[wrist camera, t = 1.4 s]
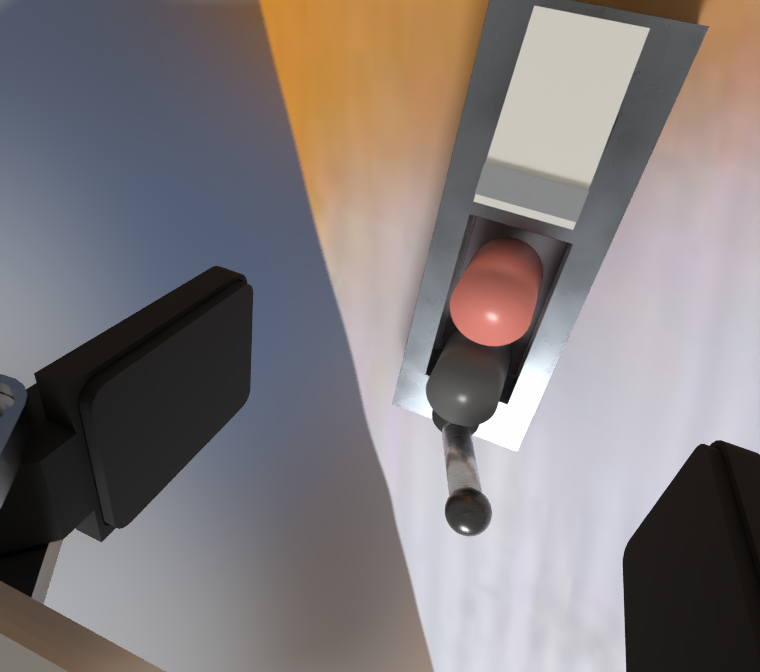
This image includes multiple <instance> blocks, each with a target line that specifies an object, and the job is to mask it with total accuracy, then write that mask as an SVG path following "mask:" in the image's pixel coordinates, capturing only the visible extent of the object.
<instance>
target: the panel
mask: <svg viewBox="0 0 760 672" xmlns="http://www.w3.org/2000/svg"><path fill="white" fill-rule="evenodd" d="M534 6H539V7H545V8H550V9H555V10H560V11H565V12H570V13H575V14H580V15H585V16H590V17H595V18H600V19H605V20H610V21H615V22H621V23H626V24H631V25H636V26H641V27H646V28H650V30H649V33H648V35H647V38H646V40H645V43H644V46H643V48H642V51H641V54H640V56H639V59H638V61H637V64H636V67H635V69H634V72H633V75H632V77H631V80H630V82H629V85H628V88H627V90H626V93H625V96H624V98H623V101H622V103H621V106H620V109H619V111H618V114H617V117H616V119H615V122H614V124H613V127H612V130H611V132H610V135H609V137H608V140H607V143H606V145H605V148H604V151H603V153H602V156H601V158H600V161H599V164H598V166H597V169H596V172H595V174H594V177H593V179H592V182H591V185H590V187H589V190H588V191H589V192H588V195H587V197H586V200H585V203H584V205H583V208H582V210H581V213H580V216H579V218H578V221H577V222H576V224H575V227H574V229H573V230H572V229H568V228H565V227H561V226H558V225H554V224H551V223H547V222H544V221H540V220H537V219H533V218H529V217H526V216H522V215H519V214H515V213H512V212H508V211H505V210H501V209H498V208H494V207H491V206H487V205H484V204H480V203H477V202H473V201H474V198H475V191H476V188H477V185H478V182H479V179H480V175H481V172H482V169H483V166H484V163H485V162H486V159H487V156H488V153H489V149H490V146H491V143H492V140H493V137H494V133H495V130H496V127H497V124H498V121H499V117H500V114H501V111H502V108H503V104H504V101H505V98H506V95H507V92H508V88H509V85H510V82H511V79H512V76H513V72H514V69H515V66H516V63H517V59H518V56H519V53H520V50H521V47H522V43H523V40H524V37H525V34H526V31H527V27H528V24H529V21H530V18H531V14H532V11H533V8H534ZM708 27H709V26H703V25H698V24H693V23H688V22H683V21H677V20H672V19H667V18H662V17H657V16H651V15H646V14H641V13H636V12H631V11H625V10H620V9H615V8H610V7H605V6H599V5H594V4H589V3H584V2H578V1H573V0H490V1H489V5H488V9H487V13H486V17H485V21H484V25H483V30H482V34H481V38H480V42H479V46H478V50H477V55H476V59H475V63H474V67H473V71H472V75H471V79H470V84H469V88H468V92H467V96H466V100H465V104H464V109H463V113H462V117H461V121H460V125H459V129H458V133H457V138H456V142H455V146H454V150H453V154H452V158H451V162H450V167H449V171H448V175H447V179H446V183H445V187H444V192H443V196H442V200H441V204H440V208H439V212H438V216H437V221H436V225H435V229H434V233H433V237H432V241H431V246H430V250H429V254H428V258H427V262H426V266H425V270H424V275H423V279H422V283H421V287H420V291H419V295H418V299H417V304H416V308H415V312H414V316H413V320H412V324H411V329H410V333H409V337H408V341H407V345H406V349H405V353H404V358H403V362H402V366H401V370H400V374H399V378H398V383H397V387H396V391H395V395H394V399H393V403H392V404H395V405H397V406H400V407H402V408H405V409H408V410H410V411H413V412H416V413H418V414H421V415H423V416H426V417H429V418H431V419H433V422H434V424H435V425H436V427H437V428H438V429H439V430H440V431H441V432H442V429H443V427H444V425H445V424H446V423H447V422H448V421H447V420H445V419H443V418H442V417H440V416H439V415H438V414H437V413H436V412H435V411H434V410H433V409H432V407H431V406H430V404H429V402H428V400H427V396H426V384H427V381H428V379H429V377H430V375H431V373H432V371H433V369H434V367H435V365H436V363H437V361H438V359H439V357H440V355H441V353H442V351H441V350H438V349H439V345H440V342H441V338H442V335H443V331H444V328H445V324H446V321H447V317H448V314H449V310H450V300H451V296H452V293H453V291H454V289H455V288H456V286H457V282H458V279H459V275H460V272H461V268H462V265H463V261H464V258H465V254H466V251H467V247H468V244H469V240H470V237H471V233H472V230H473V226H474V223H475V219H476V216H479V217H482V218H485V219H489V220H492V221H496V222H499V223H503V224H506V225H510V226H513V227H516V228H520V229H523V230H527V231H530V232H534V233H537V234H540V235H544V236H547V237H551V238H554V239H558V240H561V241H565V242H568V243H569V244H568V246H567V249H566V251H565V254H564V256H563V259H562V261H561V264H560V266H559V269H558V271H557V274H556V276H555V279H554V281H553V283H552V286H551V288H550V291H549V293H548V296H547V298H546V301H545V303H544V306H543V308H542V311H541V313H540V316H539V318H538V321H537V323H536V326H535V328H534V331H533V333H532V336H531V338H530V341H529V343H528V346H527V348H526V351H525V353H524V356H523V358H522V361H521V363H520V366H519V368H518V371H517V373H516V375H515V376H512V375H509V374H507V376H506V379H505V383H504V386H503V390H502V393H501V397H500V400H499V404H498V407H497V410H496V412H495V414H494V415H493V417H492V418H491V419H489V420H488V421H486V422H485V423H482V424H480V425H476V426H469V428H470V431H471V436H472V435H475V436H478V437H481V438H483V439H486V440H489V441H491V442H494V443H496V444H499V445H502V446H504V447H507V448H509V449H512V450H515V451H517V450H518V448H519V446H520V444H521V441H522V439H523V437H524V435H525V432H526V430H527V428H528V426H529V424H530V421H531V419H532V417H533V415H534V413H535V410H536V408H537V406H538V404H539V401H540V399H541V397H542V395H543V393H544V390H545V388H546V386H547V384H548V382H549V379H550V377H551V375H552V373H553V370H554V368H555V366H556V364H557V362H558V359H559V357H560V355H561V353H562V351H563V348H564V346H565V344H566V342H567V340H568V337H569V335H570V333H571V331H572V328H573V326H574V324H575V322H576V320H577V317H578V315H579V313H580V311H581V309H582V306H583V304H584V302H585V300H586V297H587V295H588V293H589V291H590V289H591V286H592V284H593V282H594V280H595V278H596V275H597V273H598V271H599V269H600V266H601V264H602V262H603V260H604V258H605V255H606V253H607V251H608V249H609V247H610V244H611V242H612V240H613V238H614V235H615V233H616V231H617V229H618V227H619V224H620V222H621V220H622V218H623V216H624V213H625V211H626V209H627V207H628V204H629V202H630V200H631V198H632V196H633V193H634V191H635V189H636V187H637V185H638V182H639V180H640V178H641V176H642V174H643V171H644V169H645V167H646V165H647V162H648V160H649V158H650V156H651V154H652V151H653V149H654V147H655V145H656V143H657V140H658V138H659V136H660V134H661V131H662V129H663V127H664V125H665V123H666V120H667V118H668V116H669V114H670V112H671V109H672V107H673V105H674V103H675V100H676V98H677V96H678V94H679V92H680V89H681V87H682V85H683V83H684V81H685V78H686V76H687V74H688V72H689V69H690V67H691V65H692V63H693V61H694V58H695V56H696V54H697V52H698V50H699V47H700V45H701V43H702V41H703V38H704V36H705V34H706V32H707V30H708Z"/></svg>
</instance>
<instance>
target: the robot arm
mask: <svg viewBox="0 0 760 672" xmlns="http://www.w3.org/2000/svg"><path fill="white" fill-rule="evenodd" d="M252 306H253V289H252V286H251V285H249V284H247V280H246V277H245V276H244V275H242V274H240V273H237V272H234V271H231V270H228V269H225V268H223V267H219V266H214V267H212V268H210V269H209V270H207V271H205V272H203V273H202V274H200V275H198V276H197V277H195V278H193V279H192V280H190V281H188V282H187V283H185V284H183V285H181V286H180V287H178V288H177V289H175V290H173V291H171V292H170V293H168V294H166V295H165V296H163V297H162V298H160V299H158V300H156V301H155V302H153V303H151V304H150V305H148V306H146V307H145V308H143V309H141V310H140V311H138V312H136V313H135V314H133V315H131V316H130V317H128V318H126V319H125V320H123V321H121V322H120V323H118V324H116V325H115V326H113V327H111V328H110V329H108V330H106V331H105V332H103V333H101V334H99V335H98V336H97V337H95V338H93V339H91V340H89V341H88V342H86V343H84V344H83V345H81V346H79V347H78V348H76V349H74V350H73V351H71V352H70V353H68V354H66V355H65V356H63V357H61V358H59V359H58V360H56V361H54V362H53V363H51V364H49V365H48V366H46V367H44V368H43V369H41V370H39V371H38V372H36V373H35V374H34V375H35V378H36V382H37V383H36V384H34V385H33V386H31V387H29V388H28V389H25V386H24V385H23V384H22V383H20V382H19V381H18V380H17V379H15V378H12V377H8V376H6V375H1V374H0V672H165V671H163V670H162V669H160V668H158V667H156V666H154V665H153V664H150V663H149V662H147V661H145V660H144V659H142V658H140V657H138V656H136V655H134V654H133V653H131V652H129V651H127V650H125V649H123V648H122V647H120V646H118V645H116V644H114V643H113V642H111V641H109V640H107V639H105V638H103V637H102V636H99V635H98V634H96V633H94V632H93V631H91V630H89V629H87V628H85V627H83V626H82V625H80V624H78V623H76V622H74V621H72V620H71V619H69V618H67V617H65V616H63V615H61V614H60V613H58V612H56V611H54V610H52V609H51V608H49V607H47V606H45V605H43V604H44V601H45V597H46V594H47V591H48V588H49V584H50V581H51V578H52V574H53V571H54V568H55V565H56V561H57V558H58V555H59V551H60V548H61V545H62V541H63V539H64V538H65V537H66V536H67V535H68V534H69V533H71V532H72V531H73V530H74V529H75V528H76V529H77V530H79V531H81V532H83V533H84V534H86V535H88V536H90V537H92V538H94V539H96V540H98V541H101V542H102V541H103V540H104V539H105V538H106V537H107V536H108V535H109V534H110V533H111V532H112V531H113V530H114V529H115V528H119V529H120V528H124V527H125V526H127V525H128V524H129V523H130V522H132V520H133V519H134V518H135V517H136V516H137V515H138V514H139V513H140V512H141V511H142V510H143V509H144V508H145V507H146V506H147V505H148V504H149V503H150V502H151V501H152V500H153V499H154V498H155V497H156V496H157V495H158V494H159V492H161V491H162V490H163V488H164V487H165V486H166V485H167V484H168V483H169V482H170V481H171V480H172V479H173V478H174V477H175V476H176V475H177V474H178V473H179V472H180V471H181V470H182V469H183V468H184V467H185V466H186V465H187V464H188V462H189V461H191V460H192V458H193V457H194V456H195V455H196V454H197V453H198V452H199V451H200V450H201V449H202V448H203V447H204V446H205V445H206V444H207V443H208V442H209V441H210V440H211V439H212V438H213V437H214V436H215V435H216V434H217V433H218V432H219V431H220V430H221V429H222V428H223V427H224V425H225V424H226V423H227V422H228V421H229V420H230V419H231V418H232V417H233V416H234V415H235V414H236V413H237V412H238V411H239V410H240V409H241V408H242V407H243V405H244V404H245V402H246V401H247V399H248V396H249V393H250V377H251V376H250V375H251V344H252V308H253V307H252ZM623 584H624V614H625V644H626V672H760V455H759V454H758V453H756V452H753V451H750V450H747V449H744V448H741V447H738V446H736V445H733V444H730V443H727V442H724V441H721V440H719V441H715V442H714V443H712V444H711V445H710V446H708V445H705V444H700V445H699V446H697V448H696V449H695V450H694V451H693V453H692V454H691V455H690V457H689V458H688V460H687V461H686V462H685V464H684V465H683V466H682V468H681V469H680V471H679V472H678V473H677V475H676V476H675V478H674V479H673V480H672V482H671V483H670V485H669V486H668V487H667V489H666V490H665V491H664V493H663V494H662V496H661V497H660V498H659V500H658V501H657V503H656V504H655V505H654V507H653V508H652V510H651V511H650V512H649V514H648V515H647V516H646V518H645V519H644V521H643V522H642V523H641V525H640V526H639V528H638V529H637V530H636V532H635V533H634V535H633V536H632V537H631V539H630V540H629V542H628V543H627V546H626V548H625V551H624V556H623Z"/></svg>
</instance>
